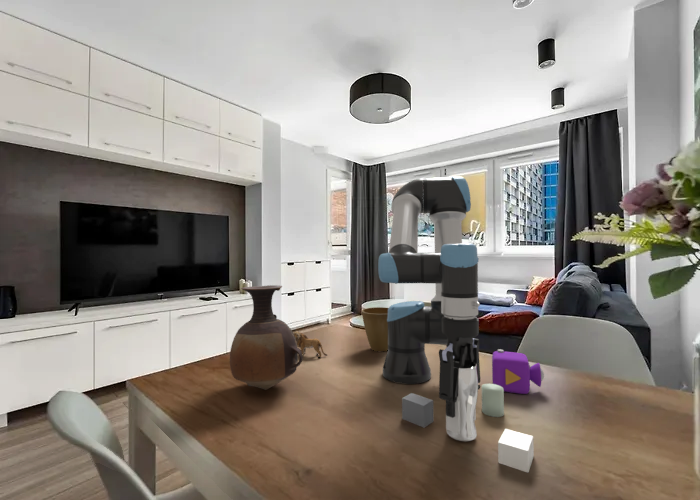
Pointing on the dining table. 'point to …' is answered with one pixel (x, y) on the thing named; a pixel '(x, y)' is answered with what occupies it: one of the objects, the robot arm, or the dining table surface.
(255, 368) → the vase
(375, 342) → the plant pot
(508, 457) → the off-white brick
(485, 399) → the sage cylinder
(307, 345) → the lion figurine
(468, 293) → the robot arm
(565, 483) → the dining table surface
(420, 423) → the charcoal block
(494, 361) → the toy camera
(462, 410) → the beer glass
